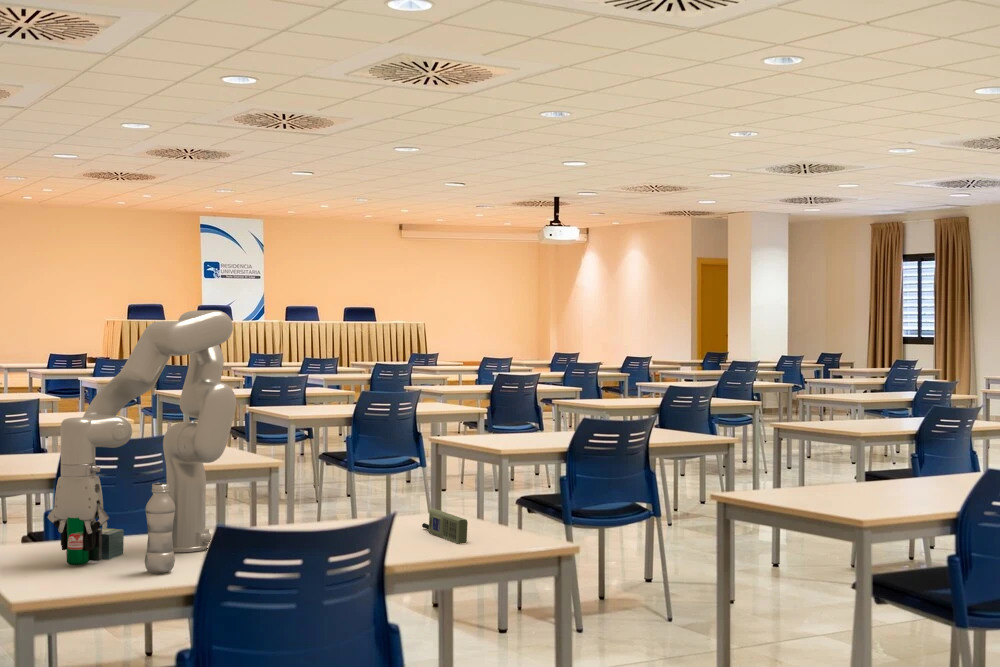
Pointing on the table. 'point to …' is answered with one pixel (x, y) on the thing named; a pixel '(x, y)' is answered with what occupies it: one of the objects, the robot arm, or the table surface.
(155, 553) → the plastic bottle
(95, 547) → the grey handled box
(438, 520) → the handheld radio
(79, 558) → the soda can
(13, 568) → the table surface
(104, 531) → the dark grey cube
